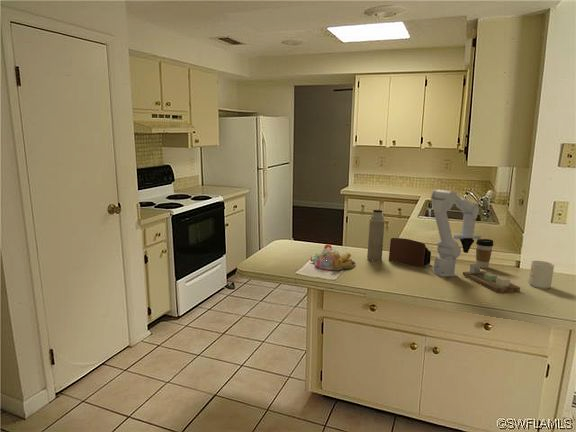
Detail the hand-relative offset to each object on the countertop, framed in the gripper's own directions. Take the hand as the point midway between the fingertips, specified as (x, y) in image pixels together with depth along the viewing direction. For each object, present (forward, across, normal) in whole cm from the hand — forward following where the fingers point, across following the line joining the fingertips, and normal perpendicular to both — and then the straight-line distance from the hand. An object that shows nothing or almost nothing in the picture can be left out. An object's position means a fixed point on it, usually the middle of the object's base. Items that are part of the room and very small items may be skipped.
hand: (465, 252), depth 207 cm
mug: (+10, +21, -26) cm, 35 cm away
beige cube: (+8, -1, -29) cm, 30 cm away
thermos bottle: (+10, -40, +23) cm, 47 cm away
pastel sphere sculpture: (+10, -67, +17) cm, 70 cm away
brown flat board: (+9, -1, -21) cm, 23 cm away
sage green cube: (+9, -1, -21) cm, 23 cm away
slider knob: (+7, -3, -13) cm, 15 cm away
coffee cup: (+10, +14, +4) cm, 17 cm away
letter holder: (+10, -23, +15) cm, 29 cm away
